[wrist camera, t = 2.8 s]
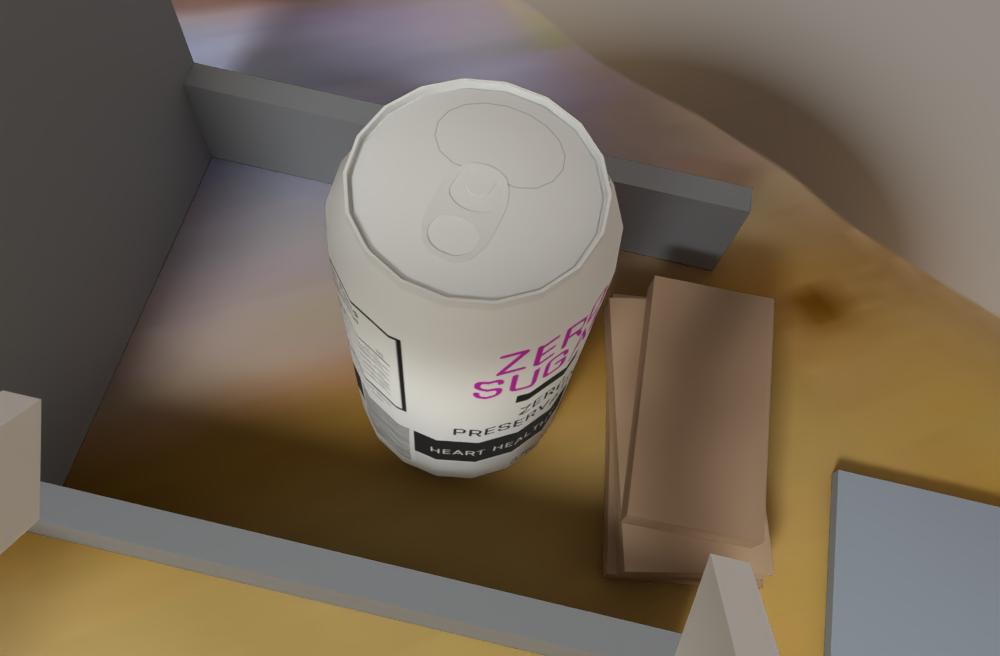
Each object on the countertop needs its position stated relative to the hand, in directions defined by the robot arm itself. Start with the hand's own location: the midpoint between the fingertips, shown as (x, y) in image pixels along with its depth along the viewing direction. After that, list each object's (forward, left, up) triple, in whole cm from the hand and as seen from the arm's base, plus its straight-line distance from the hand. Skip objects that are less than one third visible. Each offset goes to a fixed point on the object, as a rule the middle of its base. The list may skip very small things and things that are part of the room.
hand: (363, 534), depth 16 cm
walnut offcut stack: (-10, -10, -17) cm, 22 cm away
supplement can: (0, -10, -17) cm, 19 cm away
